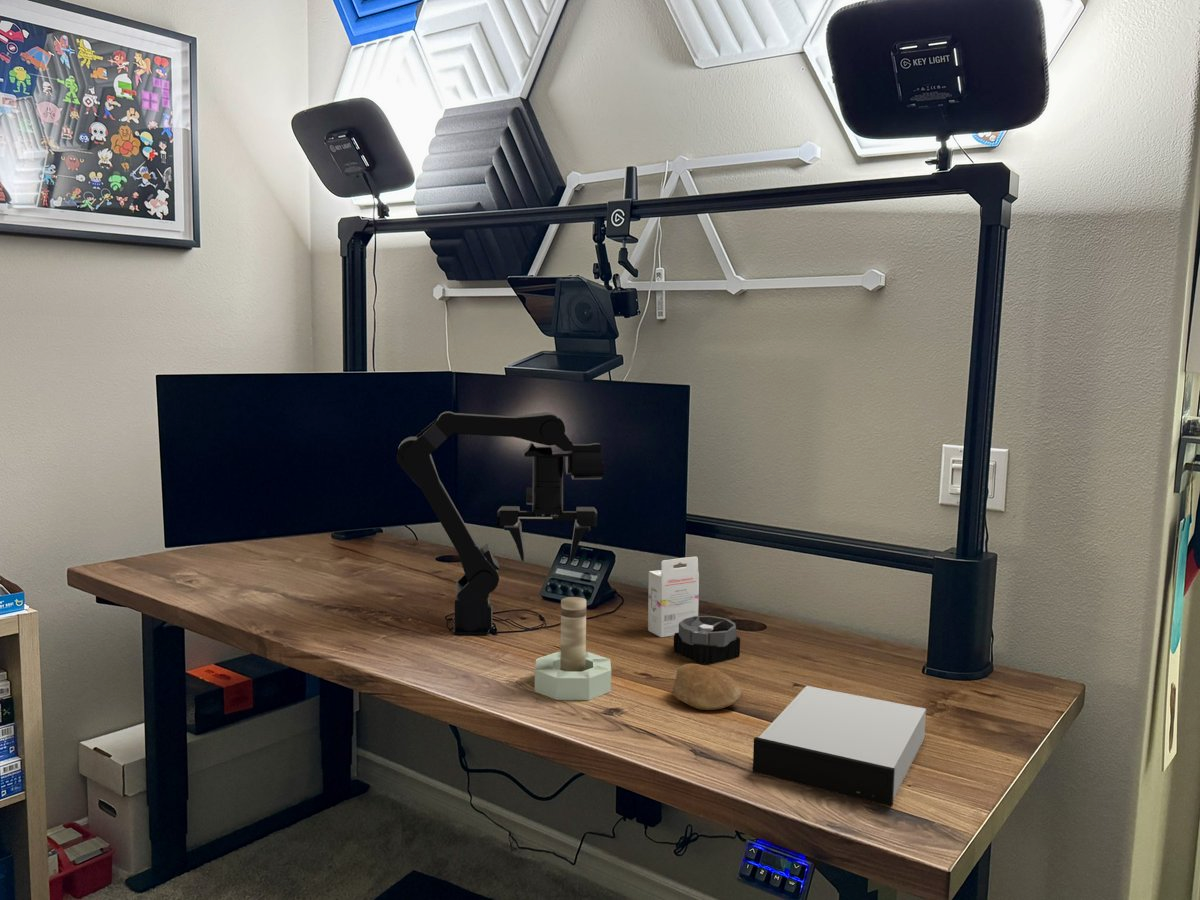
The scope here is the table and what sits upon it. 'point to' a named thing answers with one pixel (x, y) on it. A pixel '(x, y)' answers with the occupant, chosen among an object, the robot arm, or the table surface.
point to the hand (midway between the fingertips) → (547, 560)
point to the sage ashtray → (572, 678)
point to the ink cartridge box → (672, 595)
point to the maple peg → (573, 634)
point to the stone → (705, 687)
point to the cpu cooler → (707, 639)
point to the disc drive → (842, 744)
